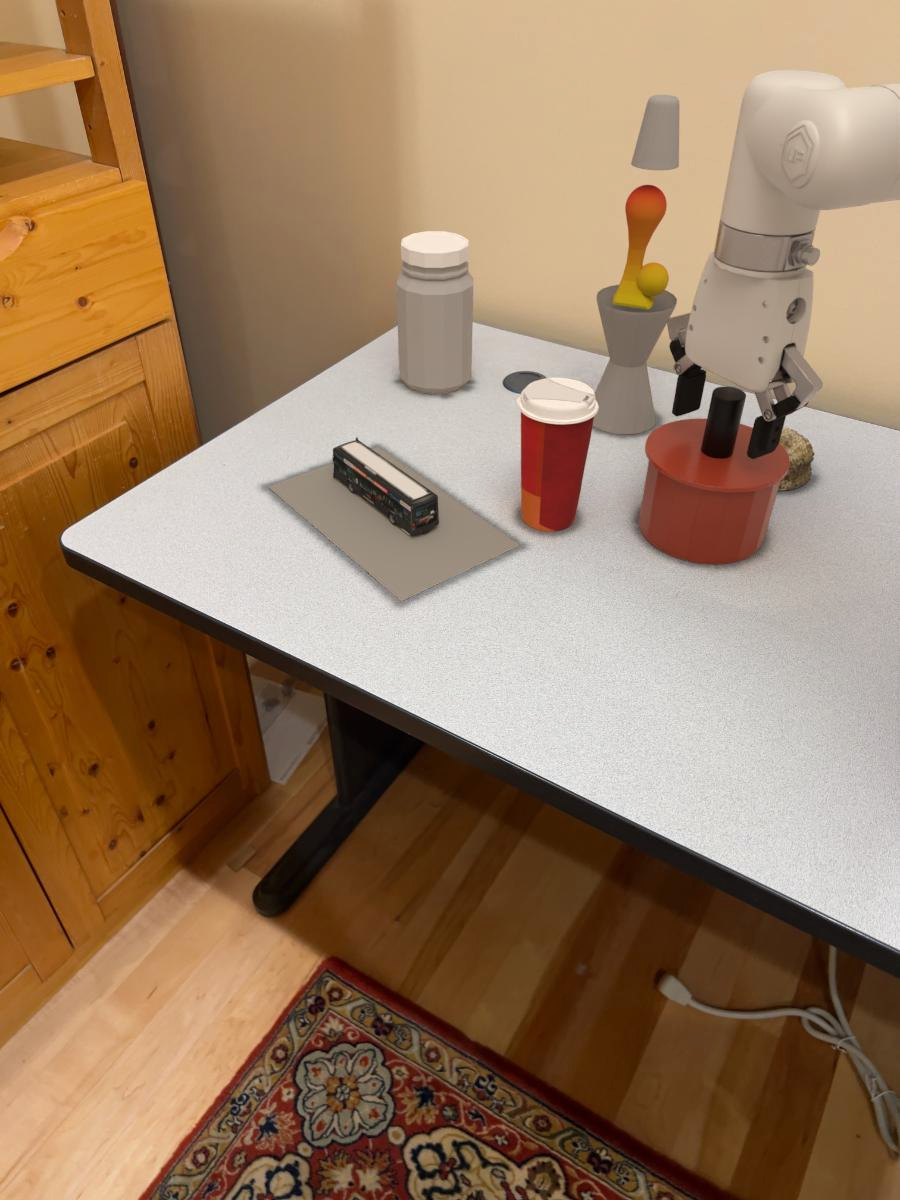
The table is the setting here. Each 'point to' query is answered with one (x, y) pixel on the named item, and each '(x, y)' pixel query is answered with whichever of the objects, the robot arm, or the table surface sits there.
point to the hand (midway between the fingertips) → (721, 432)
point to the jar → (435, 312)
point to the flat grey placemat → (391, 519)
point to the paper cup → (554, 449)
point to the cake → (796, 459)
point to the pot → (703, 520)
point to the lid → (715, 449)
